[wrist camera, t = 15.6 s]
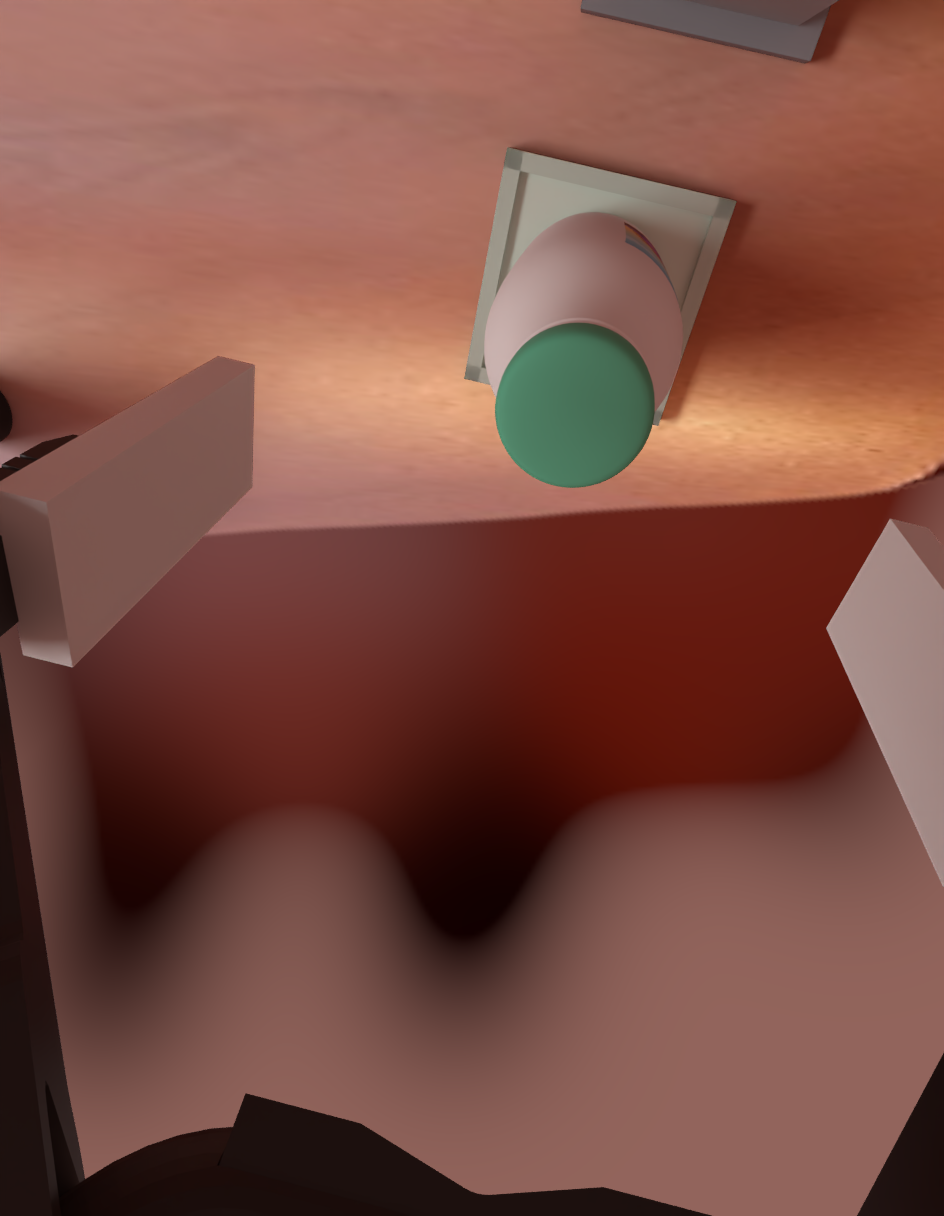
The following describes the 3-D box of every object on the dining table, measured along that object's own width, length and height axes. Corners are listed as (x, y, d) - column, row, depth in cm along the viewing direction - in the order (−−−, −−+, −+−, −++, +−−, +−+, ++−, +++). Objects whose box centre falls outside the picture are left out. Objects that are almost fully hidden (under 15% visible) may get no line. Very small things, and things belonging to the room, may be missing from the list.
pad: (509, 147, 35) (507, 147, 34) (733, 199, 35) (736, 201, 34) (467, 373, 41) (464, 378, 40) (657, 420, 41) (658, 425, 40)
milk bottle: (506, 364, 40) (435, 523, 23) (520, 204, 36) (444, 256, 19) (649, 378, 39) (681, 553, 22) (679, 216, 35) (747, 282, 18)
